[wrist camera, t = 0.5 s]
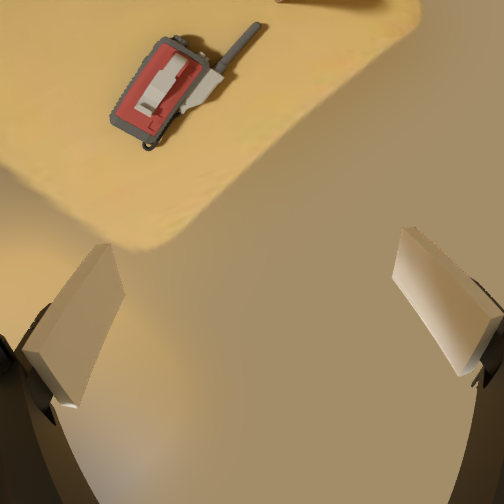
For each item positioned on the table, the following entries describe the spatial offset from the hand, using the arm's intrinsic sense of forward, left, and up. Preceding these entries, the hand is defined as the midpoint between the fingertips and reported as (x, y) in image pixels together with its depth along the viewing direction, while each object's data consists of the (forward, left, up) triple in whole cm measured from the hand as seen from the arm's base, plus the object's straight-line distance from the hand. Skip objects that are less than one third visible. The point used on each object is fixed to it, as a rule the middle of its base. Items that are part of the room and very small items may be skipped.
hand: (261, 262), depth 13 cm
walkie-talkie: (-7, +4, -27) cm, 28 cm away
